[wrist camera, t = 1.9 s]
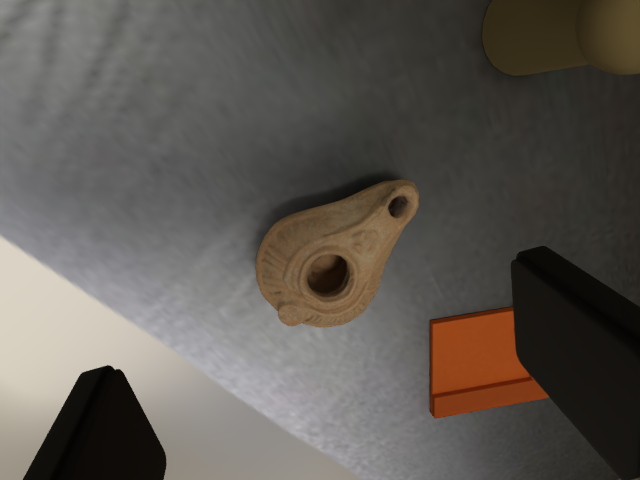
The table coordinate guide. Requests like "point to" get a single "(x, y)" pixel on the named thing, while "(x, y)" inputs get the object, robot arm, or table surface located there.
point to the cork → (562, 35)
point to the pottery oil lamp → (333, 254)
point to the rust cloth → (477, 364)
